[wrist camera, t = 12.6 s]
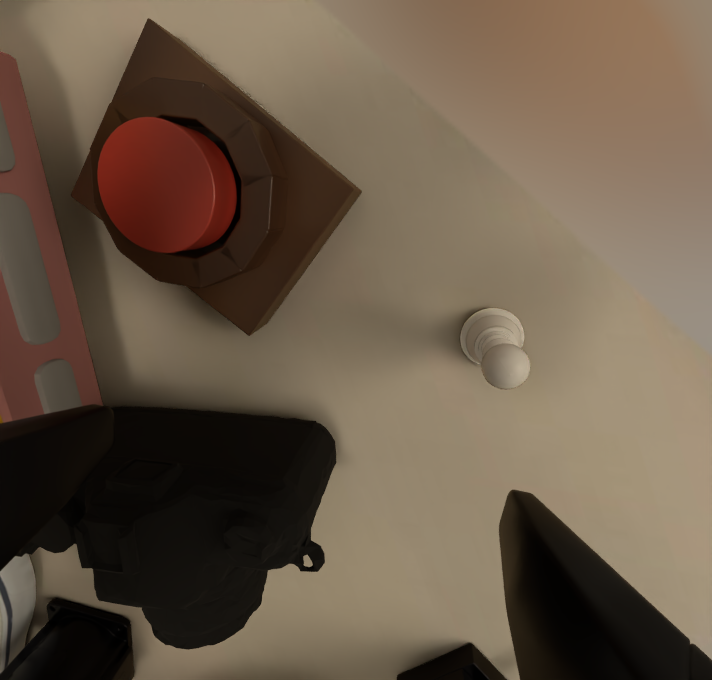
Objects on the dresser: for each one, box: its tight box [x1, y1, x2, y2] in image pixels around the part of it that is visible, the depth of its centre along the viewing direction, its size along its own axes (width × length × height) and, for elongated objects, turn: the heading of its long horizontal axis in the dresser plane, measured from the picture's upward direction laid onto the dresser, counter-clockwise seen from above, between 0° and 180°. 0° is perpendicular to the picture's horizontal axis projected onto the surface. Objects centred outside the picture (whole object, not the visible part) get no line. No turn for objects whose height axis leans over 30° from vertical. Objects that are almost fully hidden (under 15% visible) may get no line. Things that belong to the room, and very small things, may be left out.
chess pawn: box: [460, 308, 531, 390], centre depth 16 cm, size 3×3×5 cm
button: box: [98, 117, 237, 253], centre depth 15 cm, size 4×4×2 cm
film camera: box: [16, 407, 336, 649], centre depth 19 cm, size 15×10×9 cm, turn 91°
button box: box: [71, 18, 362, 336], centre depth 17 cm, size 10×8×4 cm
